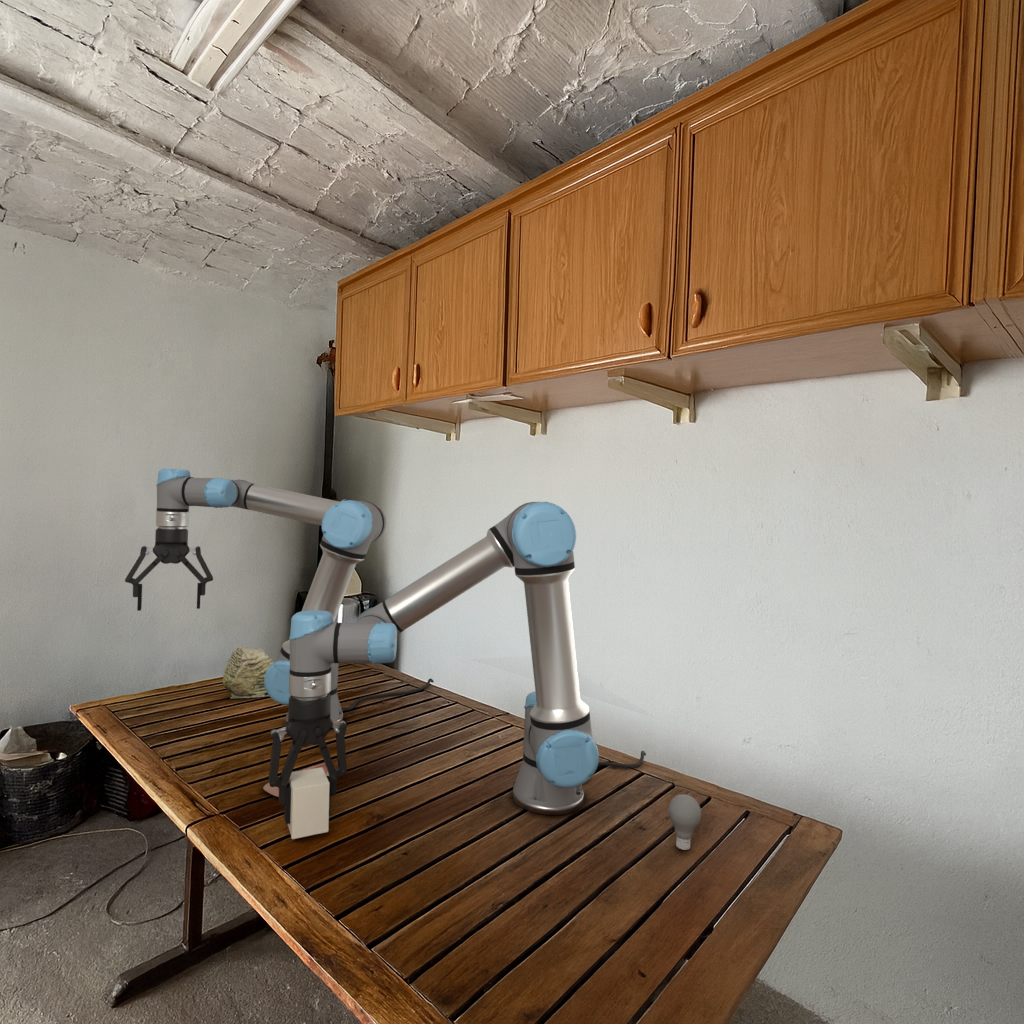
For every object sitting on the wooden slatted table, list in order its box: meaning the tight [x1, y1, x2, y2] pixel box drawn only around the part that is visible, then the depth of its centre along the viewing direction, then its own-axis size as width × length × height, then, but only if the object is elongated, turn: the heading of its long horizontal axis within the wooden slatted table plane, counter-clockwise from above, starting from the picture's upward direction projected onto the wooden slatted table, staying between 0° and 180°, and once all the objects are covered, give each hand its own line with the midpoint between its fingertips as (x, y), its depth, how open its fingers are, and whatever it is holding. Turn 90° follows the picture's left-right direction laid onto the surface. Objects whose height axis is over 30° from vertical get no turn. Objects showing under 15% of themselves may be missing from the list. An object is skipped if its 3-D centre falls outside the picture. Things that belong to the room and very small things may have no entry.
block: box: [287, 767, 330, 840], centre depth 119 cm, size 8×6×9 cm
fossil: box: [222, 646, 275, 699], centre depth 198 cm, size 9×18×15 cm, turn 132°
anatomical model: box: [262, 762, 329, 798], centre depth 138 cm, size 13×4×12 cm
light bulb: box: [667, 793, 702, 851], centre depth 119 cm, size 6×6×10 cm
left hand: (169, 608), depth 166 cm, fingers open, 13 cm apart
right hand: (307, 816), depth 119 cm, fingers closed on block, 6 cm apart
